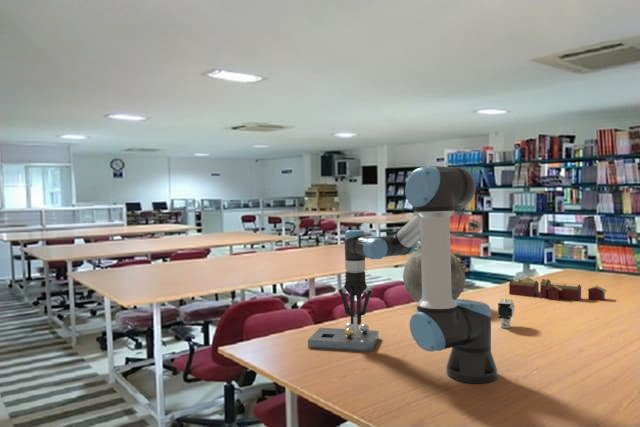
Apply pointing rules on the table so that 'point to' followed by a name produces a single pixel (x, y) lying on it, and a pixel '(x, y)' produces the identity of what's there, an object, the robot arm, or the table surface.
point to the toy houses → (553, 290)
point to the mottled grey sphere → (414, 276)
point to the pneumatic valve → (505, 312)
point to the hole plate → (343, 340)
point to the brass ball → (348, 332)
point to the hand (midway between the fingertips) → (356, 332)
